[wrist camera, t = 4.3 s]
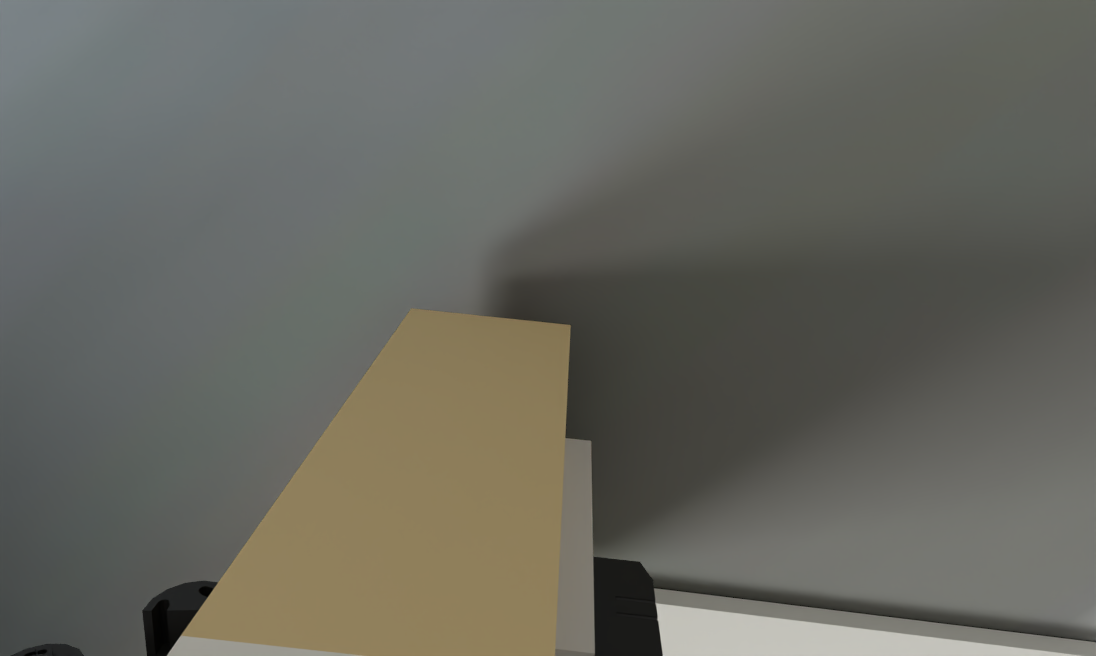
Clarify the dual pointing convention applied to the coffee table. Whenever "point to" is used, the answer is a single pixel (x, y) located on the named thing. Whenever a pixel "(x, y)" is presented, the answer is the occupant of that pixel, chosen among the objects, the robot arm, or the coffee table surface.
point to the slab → (415, 509)
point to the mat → (828, 632)
